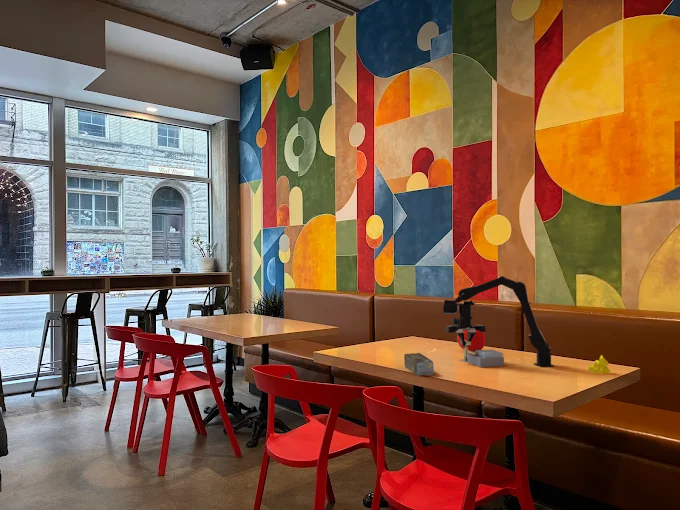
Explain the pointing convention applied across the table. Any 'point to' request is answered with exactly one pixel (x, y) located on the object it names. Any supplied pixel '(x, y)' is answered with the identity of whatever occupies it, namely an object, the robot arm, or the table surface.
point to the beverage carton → (418, 364)
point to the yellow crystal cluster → (600, 366)
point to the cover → (488, 353)
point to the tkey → (467, 350)
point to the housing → (484, 361)
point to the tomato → (474, 341)
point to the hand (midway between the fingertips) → (465, 346)
